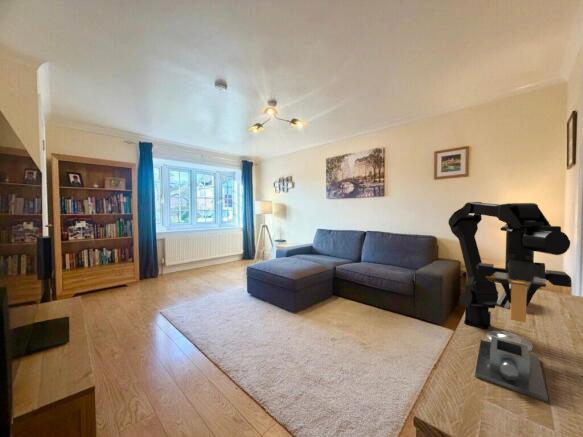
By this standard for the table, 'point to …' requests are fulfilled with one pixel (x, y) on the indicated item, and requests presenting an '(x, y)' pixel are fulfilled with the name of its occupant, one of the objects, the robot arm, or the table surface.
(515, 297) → the orange rectangular prism
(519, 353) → the bracket
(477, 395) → the table surface
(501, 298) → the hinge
